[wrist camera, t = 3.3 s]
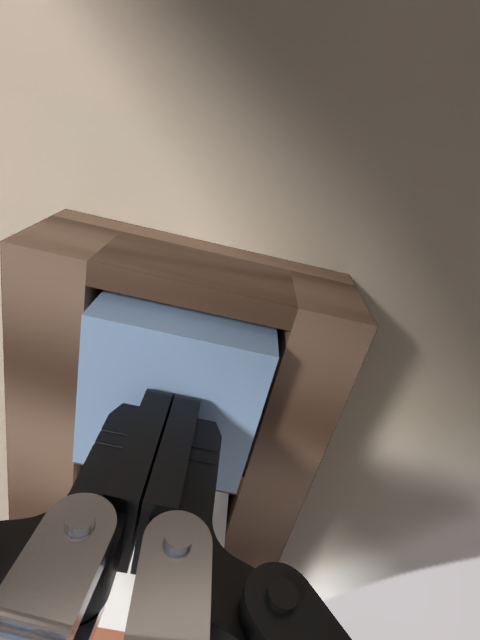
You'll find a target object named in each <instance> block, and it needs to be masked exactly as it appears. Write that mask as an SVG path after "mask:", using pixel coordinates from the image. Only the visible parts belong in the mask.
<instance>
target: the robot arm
mask: <svg viewBox="0 0 480 640" xmlns="http://www.w3.org/2000/svg"><path fill="white" fill-rule="evenodd" d="M172 400H173V394H172V393H168V392H163V391H158V390H153V389H148V388H147V390H146V392H145V394H144V397H143V399H142V401H141V404H140V406H136V405H131V404H126V403H122V404H121V405H120V406H118V407H117V408H116V409H115V410H113V411H112V412H111V413H109V415H108V417H107V419H106V421H105V423H104V425H103V427H102V429H101V431H100V433H99V435H98V437H97V438H96V440H95V444H93V446H92V448H91V450H90V452H89V454H88V456H87V458H86V460H85V462H84V464H83V466H82V468H81V470H80V472H79V474H78V476H77V478H76V480H75V482H74V484H73V486H72V488H71V490H70V492H69V493H68V495H67V496H66V497H64V498H62V499H60V500H59V501H57V502H56V503H55V504H54V505H52V506H51V507H50V508H49V510H48V511H47V512H45V513H43V514H40V515H37V516H34V517H30V518H23V519H14V520H5V521H0V640H93V637H94V635H95V632H96V629H97V627H98V624H99V622H100V619H101V617H102V614H103V611H104V608H105V603H106V602H107V600H108V597H109V595H110V592H111V588H112V585H113V582H114V579H115V576H116V572H122V573H127V572H128V569H129V565H130V562H131V558H132V555H133V551H134V555H133V560H132V566H131V572H130V574H134V575H136V576H135V581H134V586H133V592H132V597H131V602H130V607H129V612H128V618H127V623H126V628H125V633H124V639H123V640H352V639H351V638H350V637H349V636H348V634H347V633H346V631H345V630H344V629H343V627H342V626H341V625H340V624H339V622H338V621H337V619H336V618H335V617H334V616H333V614H332V613H331V612H330V610H329V609H328V607H327V606H326V605H325V603H324V602H323V601H322V600H321V598H320V597H319V596H318V594H317V593H316V592H315V590H314V589H313V588H312V586H311V585H310V584H309V582H308V581H307V580H306V579H305V577H304V576H303V575H302V574H301V573H300V572H298V571H297V570H296V569H294V568H293V567H291V566H289V565H287V564H283V563H280V562H267V563H263V564H261V565H259V566H258V567H256V568H254V567H252V566H250V565H248V564H246V563H245V562H243V561H241V560H239V559H237V558H236V557H234V556H233V555H231V554H230V553H229V552H227V551H226V550H225V549H224V548H223V546H222V545H221V544H220V542H219V541H218V539H217V537H216V535H215V533H214V529H213V523H212V520H213V510H214V501H215V492H216V484H217V475H218V466H219V458H220V450H221V441H222V436H221V433H220V431H219V428H218V426H217V423H216V422H214V421H209V420H204V419H199V418H197V417H198V412H199V407H200V403H201V399H197V398H192V397H187V396H182V395H178V394H175V397H174V400H173V404H172ZM171 406H172V407H171ZM134 548H135V549H134Z"/></svg>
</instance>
